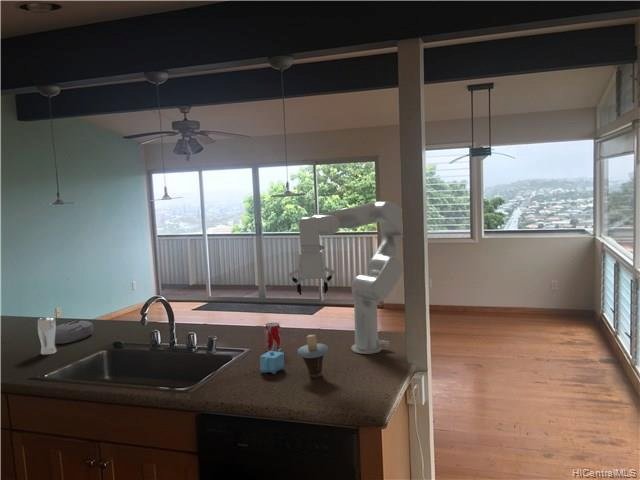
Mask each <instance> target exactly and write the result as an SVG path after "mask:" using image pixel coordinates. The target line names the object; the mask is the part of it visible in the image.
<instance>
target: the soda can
mask: <svg viewBox="0 0 640 480" xmlns="http://www.w3.org/2000/svg"><path fill="white" fill-rule="evenodd" d="M263 331H264V333H263V336H264V337H263V339H264V351H265V353H267V352H269V351H275V352H278V350H279V349H281V350H282V346H283V345H282V343H283V342H282V328H281V326H280V323H279V322H268V323H266V324H265V326H264V329H263Z"/></svg>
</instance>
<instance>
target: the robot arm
mask: <svg viewBox="0 0 640 480" xmlns="http://www.w3.org/2000/svg"><path fill="white" fill-rule="evenodd" d="M402 210H403V209H402V208H401V207H400V206H398V205H397V204H396V203H394V202H392V201H389V200H388V201H387V200H385V201H384V200H383V201H382V200H381V201H372V202H368V203H366V202H365V203H363V204H359V205H354V206H351V207H350V206H349V207H345V208H339V209H336V210H330V211H327V212H326V211H325V212H322V213H317V214H315V215H312V216H305V217H301V218H300V219H299V222H298V223H299V240H300V241H299V242H300V243H299V244H300V252H299V253H298V260H297V261H298V262H297V264H298V265H297V266H298V267H297V268H296V269H294V270H292V271H291V272H289V273H288V275H289V277H290V278H291V280H292V282H294V283H295V285H296V286H297V287H296V288H297V293H298V294H299V296H301V295H302V284H301V282H302V281H303V280H318V279H322V280H323V293H324V294H327V292H328V291H329V288H328V287H329V286H328V285H329V282H330V280H332V278H333V276H334V274H335V271H334V270H333V269H331V268H330V267H329V268H328V267H327V266H325V265H326V264H325V259H324V254H323V252H322V251H323V250H325V246H324V245H321V235H328V236H331V235H334V234H336V233H338V231H339V230H340V229H354V228H355V229H357V228H359V227H360V228H361V227H363V226H367V225H369V224H374V223H379V231H380V236H381V242H380V244H379V246H378V247H377V249H376V251H375V252H374V254H373V256H372V257H371V258H370V260H369V262H368V264H367V271H368V273H369V274H359V275H357V276H355V277H354V278H353V279H352V282H351V293H352V299H353V307H354V308H353V309H354V312H353V313H354V314H353V315H354V344H353V345H352V346H351V348H350V349H351V351H352V352H353V353H357V354H359V355H360V354H361V355H372V354H377V353H380V352H382V347H383V346H385V347H389V346H390V341H389V340H385V339H379V337H378V333H379V332H378V328H379V327H378V304H377V302H382V301H384V300H386V299H388V297H389V296H390V294H391V293H392V291H393V290H394V289H395V287H396V285H397V284H398V282H399V280H400V279H401V277H402V275H403V271H404V264H403V262H402V259H400V258H399V257H397V256H398V255H399V252H400V247H401V246H400V242H399V241H400V240H399V237H404V236H403V223H402ZM326 272H328V273H329V274H328V276H327V277H326ZM296 274H298V278H297V277H295V276H294V275H296Z"/></svg>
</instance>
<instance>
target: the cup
mask: <svg viewBox="0 0 640 480" xmlns="http://www.w3.org/2000/svg"><path fill="white" fill-rule="evenodd" d="M324 356H325V355H323V356H320V357H316V358H303V357H301V358H302V359H303V360H304V364H305V365H306V367H307V370H308V374H309V378H311V379H317V378H320V377H322V375H323V360H324Z"/></svg>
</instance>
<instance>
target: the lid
mask: <svg viewBox="0 0 640 480" xmlns="http://www.w3.org/2000/svg"><path fill="white" fill-rule="evenodd" d="M306 341H307V342H306V343H307V344H305V345H303V346H300V347H299V348H298V349H297V356H299V357H301V358H302V357H303V358H316V357H320V356H323V355H324V356H325V355H326V354H327V353H329V347H328V345H326V344H324V343H317V336H316V334H309V335H306ZM324 356H323V357H324ZM303 358H302V359H303Z"/></svg>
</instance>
